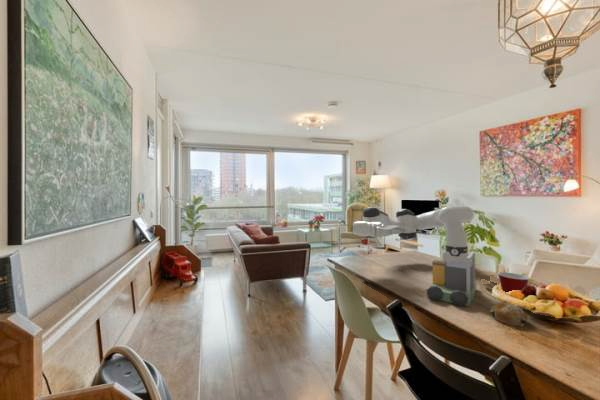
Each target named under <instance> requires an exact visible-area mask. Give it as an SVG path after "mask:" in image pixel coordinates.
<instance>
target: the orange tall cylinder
mask: <svg viewBox="0 0 600 400" xmlns="http://www.w3.org/2000/svg"><path fill="white" fill-rule="evenodd" d="M431 265H432V284H437V285H442V286H445V285H446V265H447V262H445V261H443V260H437V259H434V260H433V261H432V263H431Z"/></svg>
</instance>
